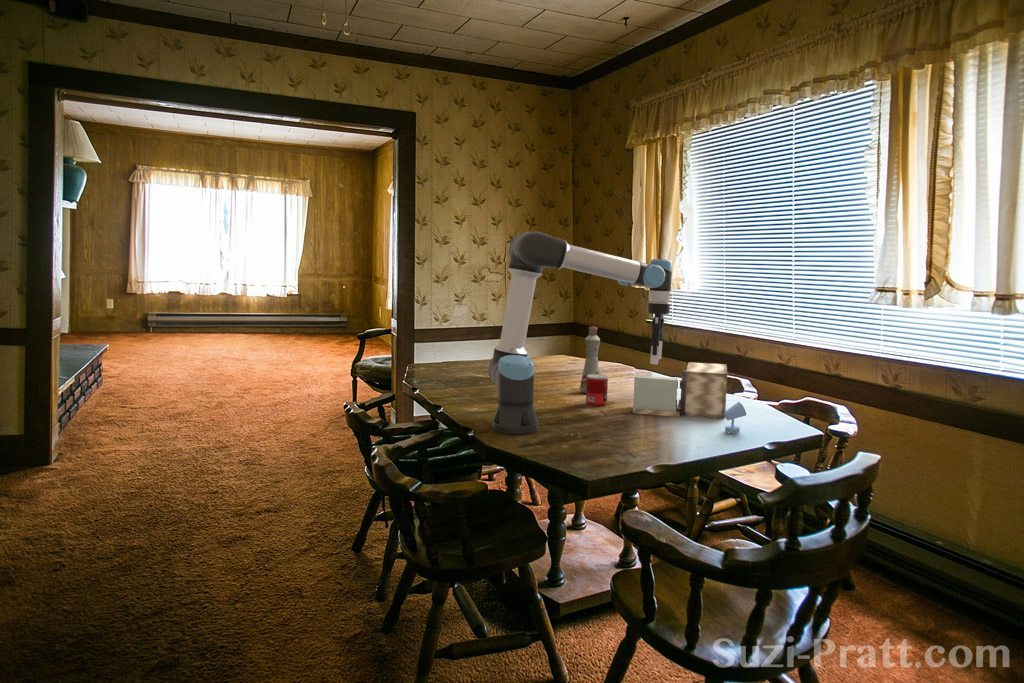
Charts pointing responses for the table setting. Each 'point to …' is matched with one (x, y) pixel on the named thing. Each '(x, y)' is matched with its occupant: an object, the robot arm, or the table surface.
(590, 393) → the canned food
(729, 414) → the spotlight
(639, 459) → the table surface
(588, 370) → the bottle
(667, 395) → the door
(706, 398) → the cabinet
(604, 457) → the table surface
